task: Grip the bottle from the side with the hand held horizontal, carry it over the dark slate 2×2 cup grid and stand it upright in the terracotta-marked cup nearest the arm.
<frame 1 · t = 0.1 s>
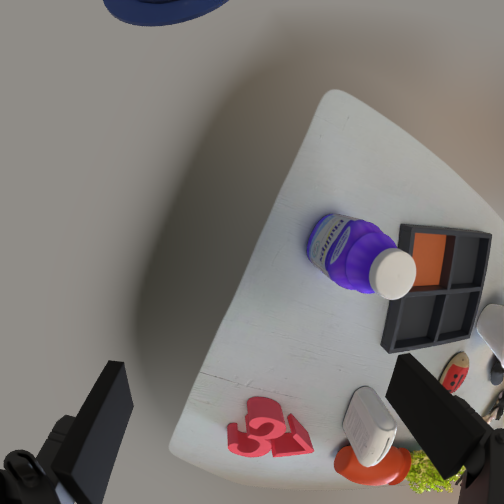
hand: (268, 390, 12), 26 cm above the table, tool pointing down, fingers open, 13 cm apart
ladybug figurine: (450, 370, 47), on the table
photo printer: (356, 406, 46), on the table
cup: (486, 318, 45), on the table
bottle: (327, 239, 38), on the table
potted plant: (400, 454, 52), on the table
red heart emoticon: (273, 423, 45), on the table
grid: (437, 286, 42), on the table
toy figure: (490, 408, 54), on the table
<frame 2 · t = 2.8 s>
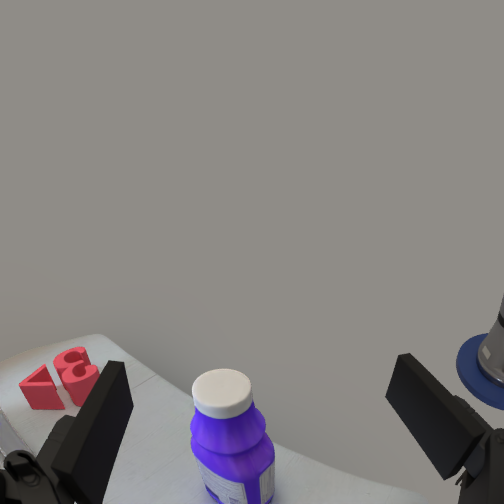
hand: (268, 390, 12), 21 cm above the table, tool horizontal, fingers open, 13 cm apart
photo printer: (16, 452, 22), on the table
bottle: (241, 494, 23), on the table
red heart emoticon: (66, 395, 37), on the table
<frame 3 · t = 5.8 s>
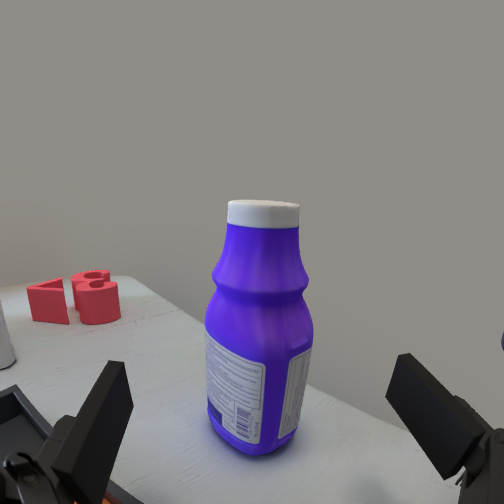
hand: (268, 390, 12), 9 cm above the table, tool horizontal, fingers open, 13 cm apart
bottle: (251, 431, 20), on the table
red heart emoticon: (74, 315, 38), on the table
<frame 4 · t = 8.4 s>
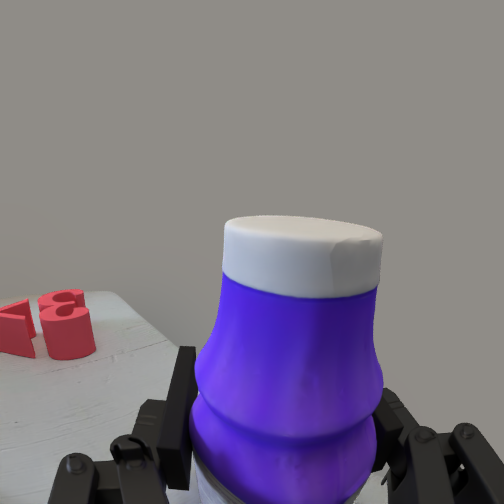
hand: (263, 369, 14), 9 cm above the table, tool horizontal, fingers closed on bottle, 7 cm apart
red heart emoticon: (43, 344, 29), on the table
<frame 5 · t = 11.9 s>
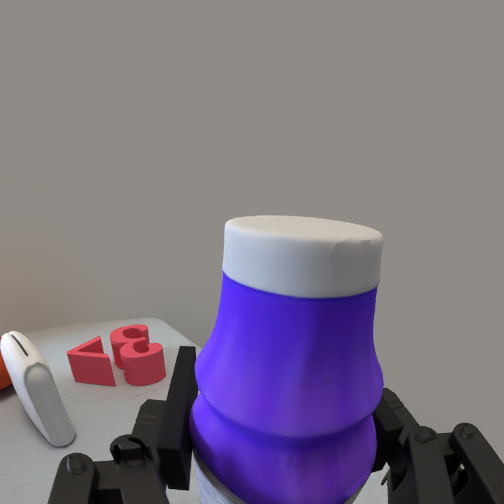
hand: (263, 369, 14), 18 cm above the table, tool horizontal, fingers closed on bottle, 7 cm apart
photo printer: (49, 424, 25), on the table
red heart emoticon: (117, 373, 39), on the table
when the fingers open (10 cm above the table, at t = 15.3 s): bottle stays where it is, resting on grid.
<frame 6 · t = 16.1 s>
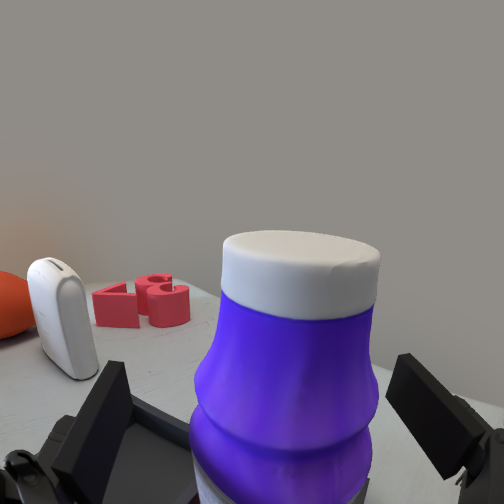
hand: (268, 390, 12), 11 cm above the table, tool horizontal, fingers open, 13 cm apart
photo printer: (69, 361, 28), on the table
red heart emoticon: (140, 318, 42), on the table
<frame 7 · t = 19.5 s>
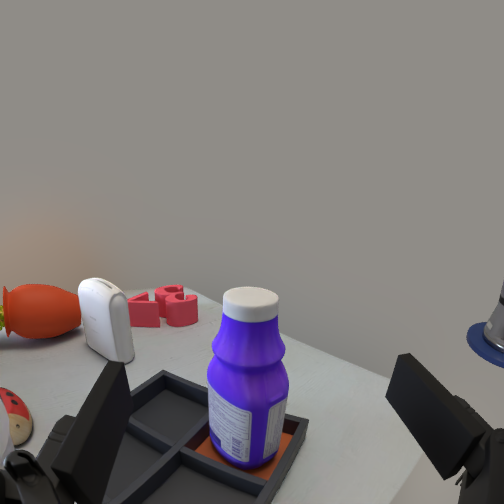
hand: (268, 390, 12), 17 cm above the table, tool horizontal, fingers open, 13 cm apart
ladybug figurine: (11, 424, 21), on the table
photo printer: (110, 352, 42), on the table
bottle: (243, 450, 25), point 1 cm above the table, touching grid
red heart emoticon: (159, 320, 56), on the table
grid: (181, 463, 23), on the table
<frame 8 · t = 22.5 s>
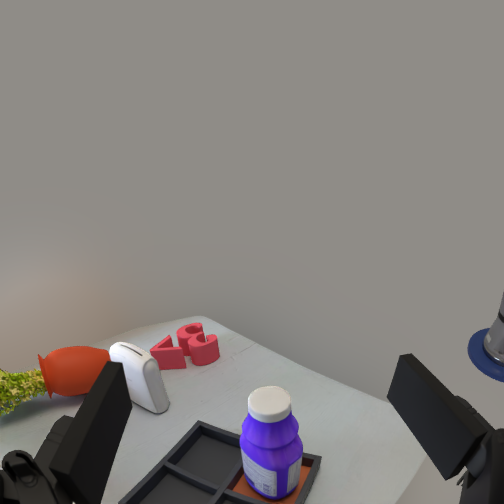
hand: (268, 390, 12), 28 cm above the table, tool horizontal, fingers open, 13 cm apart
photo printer: (146, 401, 47), on the table
bottle: (272, 483, 30), point 1 cm above the table, touching grid
potted plant: (28, 402, 41), on the table
red heart emoticon: (184, 359, 61), on the table
grid: (224, 498, 28), on the table
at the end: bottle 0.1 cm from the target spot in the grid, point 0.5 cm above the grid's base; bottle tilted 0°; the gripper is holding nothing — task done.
